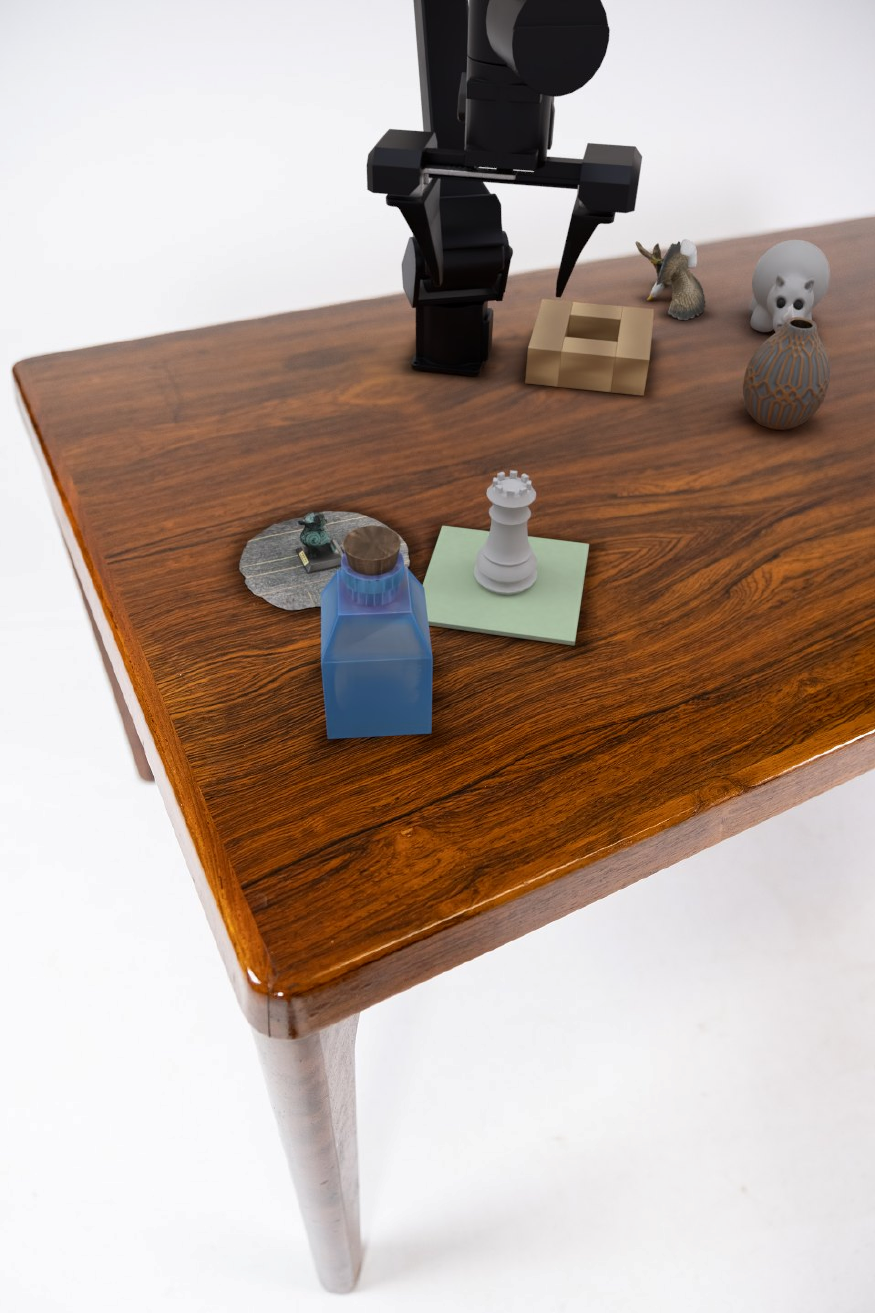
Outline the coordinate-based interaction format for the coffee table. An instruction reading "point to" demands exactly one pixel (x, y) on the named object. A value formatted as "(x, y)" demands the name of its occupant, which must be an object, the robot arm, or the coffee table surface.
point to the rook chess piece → (508, 538)
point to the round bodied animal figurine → (787, 284)
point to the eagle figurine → (677, 278)
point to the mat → (525, 615)
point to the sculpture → (301, 557)
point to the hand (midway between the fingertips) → (498, 289)
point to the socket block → (590, 347)
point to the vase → (787, 376)
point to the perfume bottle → (375, 642)
